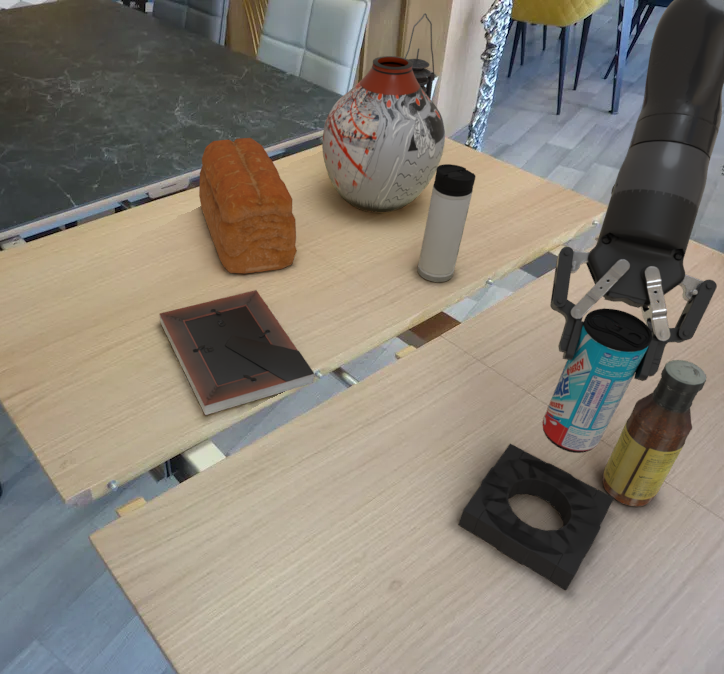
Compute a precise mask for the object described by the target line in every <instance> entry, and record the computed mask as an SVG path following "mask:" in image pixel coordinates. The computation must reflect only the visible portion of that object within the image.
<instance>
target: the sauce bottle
mask: <svg viewBox="0 0 724 674" xmlns="http://www.w3.org/2000/svg"><path fill="white" fill-rule="evenodd" d="M659 379H660V380H659V381H658V383H657V386H656V387H654V389H653V391H652V392H651V393H649V394H647V395H646V396H643V397H642V398H640V399H638V400H637V401H636V402H635V404H634V407H633V408H632V411H631V413H630V416H629V417H628V419H627V420H626V421H625V425H624V426H623V429H622V431H621V433H620V435H619V437H618V439H617V442H616V443H615V445H614V448H613V450H612V452H611V455H610V456H609V458H608V460H607V463H606V465H605V467H604V469H603V474H602V485H603V488H604V490H605V491H606V492H607V494H608V495H610V496H611V497H613V498H614V500H616V501H617V502H619V503H620V504H622V505H626V506H630V507H635V508H636V507H644V506H647V505H648V504H650V503H651V501H653V499H654V498H655V496H657V494H659V491H660V490H661V487H662V485H663V484H664V482H665V480H666V478H667V477H668V475H669V473H670V472H671V470H672V468H673V466H674V464H675V462H676V460H677V459H678V457H679V455H680V453H681V451H682V449H683V448H684V446H685V444H686V440H687V438H688V436H689V434H690V433H691V431H692V430H693V425H692V415H691V407H692V406H693V402H694V400H695V398H696V397H697V395H698V393H699V392H701V391H702V390H703V388H704V386H705V384H706V382H707V374H706V373H705V371H704V370H703V369H702V368H701V367H700V366H698V365H697V364H695V363H694V362H691V361H688V360H686V359H685V360H683V359H675V360H674V359H673V360H669V361H667V362H666V363H665V365H664V367H663V368H662V370H661V373H660V378H659Z"/></svg>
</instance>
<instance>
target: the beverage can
mask: <svg viewBox="0 0 724 674" xmlns="http://www.w3.org/2000/svg"><path fill="white" fill-rule="evenodd" d="M583 319H584V320H583V322H584V323H583V327H582V330H581V333H580V337H579V340H578V343H577V346H576V350H575V353H574V356H573V359H572V360H566V361H565V365H564V367H563V369H562V372H561V374H560V377H559V379H558V382H557V384H556V387H555V389H554V391H553V394H552V397H551V400H550V401H549V404H548V406H547V408H546V411H545V413H544V416H543V418H542V430H543V433H544V435H545V437H546V438H547V440H548V441H549V442H550V443H551V444H553V445H554V446H555V447H557V448H558V449H560V450H562V451H566V452H569V453H573V454H581V453H586V452H590V451H592V450H593V449H595V448H596V447H597V446H598V445H599V444H600V442H601V439H602V438H603V436H604V434H605V432H606V430H607V428H608V426H609V424H610V422H611V421H612V418H613V417H614V415H615V413H616V410H617V409H618V407H619V405H620V403H621V401H622V399H623V397H624V395H625V393H626V392H627V390H628V388H629V386H630V384H631V382H632V380H633V378H634V376H635V373H636V370H637V368H638V366H639V364H640V362H641V361H642V359H643V357H644V355H645V353H646V351H647V349H648V346H649V345H650V343H651V341H652V333H651V331H650V329H649V327H648V326H647V325H646V322H645V321H644V320H641V319H640V318H639V317H637V316H635V315H633V314H631V313H630V312H626V311H623V310H620V309H615V308H598V309H594V310H592V311H590V312H587V313H586V314H585V317H584V318H583Z"/></svg>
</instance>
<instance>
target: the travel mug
mask: <svg viewBox="0 0 724 674" xmlns="http://www.w3.org/2000/svg"><path fill="white" fill-rule="evenodd" d="M434 176H435V177H434V182H433V185H432V190H431V196H430V200H429V206H428V210H427V211H428V212H427V217H426V222H425V226H424V233H423V239H422V243H421V249H420V254H419V258H418V259H419V260H418V264H417V273H418V275H419V276H420V277H421V278H422V279H425V280H426V281H428V282H433V283H444V282H447V281H449V280H451V279H452V278H453V276H454V273H455V269H456V265H457V264H456V263H457V259H458V255H459V251H460V247H461V244H462V243H461V242H462V238H463V235H464V230H465V225H466V221H467V217H468V212H469V210H470V209H469V208H470V204H471V199H472V194H473V191H474V190H473V189H474V185H475V180H476V174H475V173H474V172H471V171H470V170H468V169H467V168H466V167H464V166H461V165H457V164H450V163H449V164H448V163H445V164H444V163H443V164H439V165H438V167H437V170H436V172H435V175H434Z"/></svg>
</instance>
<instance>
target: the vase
mask: <svg viewBox="0 0 724 674" xmlns="http://www.w3.org/2000/svg"><path fill="white" fill-rule="evenodd" d="M412 66H413V63H412V62H411V61H410V60H408V58H406V59H405V57H403V56H402V57H401V56H395V55H394V56H393V55H385V56H379V57H376V58H374V59H373V60H372V65H371V67H370V69H369V70H368V72H367V73H366V74H365V75H364V76H363V78H361V80H359V82H358V83H356V84H355V85H354V86H353V87H352V88H351V89H349V90H348V91H347V92H346V93H345V94H343V95H342V96H341V97H340V98H339V99H338V100H337V101H336V102H335V103H334V104H333V106H332V107H331V109H330V111H329V112H328V114H327V116H326V119H325V122H324V126H323V132H322V142H321V143H322V144H321V147H322V156H323V163H324V165H325V169H326V173H327V175H328V179H329V180H330V182H331V184H332V186H333V187H334V189H335V190H336V192H337V193H338V194H339V196H340V197H341V198H342V199H343V200H345V201H346V203H348V204H349V205H351V206H352V207H354V208H356V209H359V210H360V211H363V212H366V213H367V212H368V213H373V214H384V213H391V212H394V211H397V210H399V209H402V208H404V207H406V206H407V205H409V204H410V203H412V202H413V201H414V200H415V199H417V198H418V197H419V196H420V195H421V194H422V193H423V192H424V190H425V189H426V188H427V186H428V185H429V184H430V183H431V181H432V179H433V178H434V176H435V175H436V171H437V167H438V166H440V163H441V159H442V156H443V152H444V148H445V142H446V131H445V124H444V120H443V116H442V114H441V113H440V110H439V108H438V107H437V106H436V104H435V103H434V101H432V98H431V99H430V98H429V97H428V96H427V94H426V93H425V92H424V91H423V89H422V88H421V86H420V85H419V83H418V81H417V80H416V78H415V76H414V73H413V70H412Z"/></svg>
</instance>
